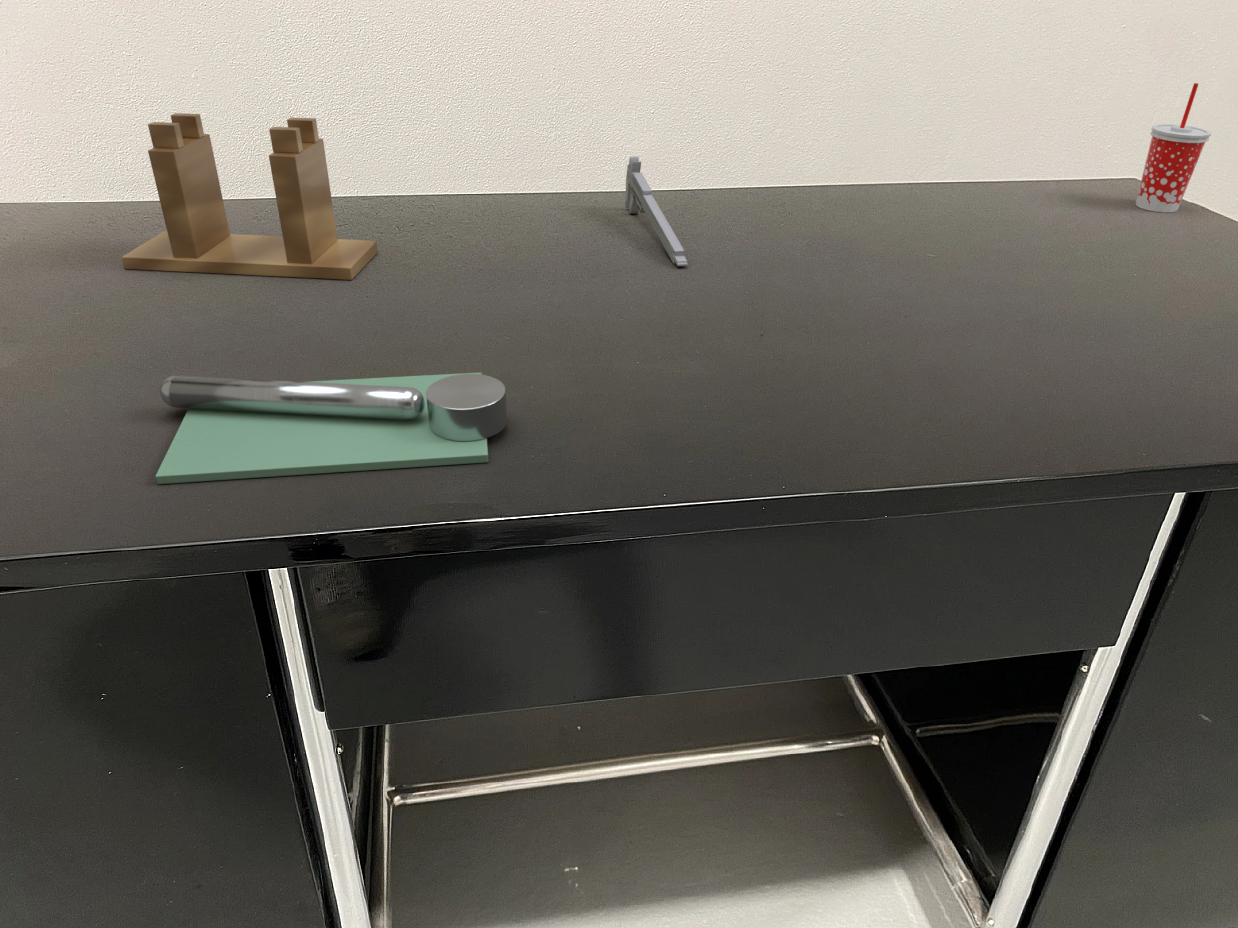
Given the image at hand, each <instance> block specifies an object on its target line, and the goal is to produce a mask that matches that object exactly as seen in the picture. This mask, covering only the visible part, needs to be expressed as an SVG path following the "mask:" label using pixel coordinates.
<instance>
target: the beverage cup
mask: <svg viewBox="0 0 1238 928" xmlns="http://www.w3.org/2000/svg"><path fill="white" fill-rule="evenodd" d="M1198 88H1199V83H1198V82H1194V83H1193V86H1192V89H1191V92H1190V95H1189V98H1188V101H1187V104H1186V107H1185V110H1184V113H1183V115H1182V120H1181V121H1180V124H1171V123H1170V124H1167V123H1166V124H1165V123H1162V124H1161V123H1160V124H1155V125H1152V126H1151V132H1150V133H1149V134H1150V135H1151V138H1150V142H1149V147H1148V151H1147V156H1146V160H1145V163H1144V167H1143V172H1142V176H1141V179H1140V184H1139V188H1138V193H1137V196H1136V200H1135V206H1136V207H1138V208H1139V209H1142V210H1146V211H1150V212H1156V213H1176V212H1177V211H1178V210H1179V208H1180V206H1181V203H1182V200H1183V198H1184V196H1185V193H1186V190H1187V189H1188V186H1189V183H1190V181H1191V179H1192V176H1193V174H1194V171H1195V168H1196V166H1197V164H1198V162H1199V159H1200V156H1201V155H1202V152H1203V149H1204V147H1205V144H1206V143H1207V142H1209V139H1210V137H1211V135H1212V133H1211V131H1209V130H1207V129H1205V128H1201V127H1197V126H1190V125H1186V124H1187V121H1188V118H1189V115H1190V111H1191V109H1192V105H1193V103H1194V99H1195V97H1196V93H1197V91H1198Z"/></svg>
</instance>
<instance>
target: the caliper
mask: <svg viewBox="0 0 1238 928" xmlns="http://www.w3.org/2000/svg"><path fill="white" fill-rule="evenodd" d="M641 168H642V161H641V160H640V159H639V156H629V161H628V164H627V167H626V176H625V197H624V198H625V199H624V200H625V202H624V203H625V208H626V209H628V210H629V211H628V214H629V215H638V214H639V213H640V214H645V215H646V217H647V220H648V221H649V223H650V224H651V227H652V228H653V230H654V232H655V234H656V235H657V237H658V239H659V241H660V243H661V244H662V247H663V248H664V250H665V252H666V254H667V255H668V257H669V260H670V261H671V263H672V264H673V265H676V266H677V267H683V266H686V267H687V266H688V260H687V258H686V256H685V249H684V247H683V246H682V244H681V242H680V241H679V239H678V237H677V235H676V233H675V231H674V230H673V228H672V227H671V225H670V223H669V222H668V220H667V218H666V217H665V215H664V213H663V211H662V209H661V208H660V207H659V204H658V203H657V201H656V199H655V198H654V196H653V189H652V187H650V185H649V183H648V181H647V179H646V177H645V176H644V174H643V172H641V170H642V169H641Z"/></svg>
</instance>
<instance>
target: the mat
mask: <svg viewBox="0 0 1238 928" xmlns="http://www.w3.org/2000/svg"><path fill="white" fill-rule="evenodd" d="M459 374H460V373H446V374H445V373H443V374H424V375H407V376H406V375H405V376H387V377H385V376H384V377H370V378H351V379H329V380H311V381H308V382H317V383H337V384H356V385H376V386H396V387H411V388H415V389H417V390H418V391H419V392H421V394H422V395H423V397H424V399H425V409H424V411H423V413H422V414H421V415H420V416H419V417H418V418H416V419H413V420H397V419H378V418H360V417H341V416H322V415H303V414H285V413H266V412H247V411H228V410H210V409H191V408H187V410H186V413H185V415H184V417H183V419H182V421H181V423H180V425H179V427H178V429H177V431H176V433H175V436H174V437H173V439H172V441H171V443H170V445H169V448H168V450H167V452H166V453H165V456H164V457H163V460H162V462H161V464H160V466H159V468H158V470H157V471H156V473H155V480H156V484H157V485H165V484H166V485H168V484H181V483H182V484H183V483H197V482H198V483H199V482H214V481H226V480H227V481H228V480H242V479H259V478H271V477H272V478H273V477H274V478H275V477H287V476H303V475H318V474H334V473H348V472H361V471H362V472H364V471H365V472H366V471H378V470H392V469H407V468H408V469H409V468H422V467H437V466H439V467H440V466H451V465H452V466H453V465H454V466H455V465H470V464H483V463H484V464H485V463H489V449H488V438H485V439H481V440H476V441H453V440H448V439H444V438H441V437H439V436H437V435H436V434H435V433H433V432H432V430H431V429H430V426H429V417H428V408H427V399H426V392H427V389H428V388H429V387H430V386H431V385H432V384H433V383H434V382H436V381H438V380H440V379H443V378H445V377H449V376H453V375H459ZM461 374H481V375H483V373H482V372H465V373H461Z"/></svg>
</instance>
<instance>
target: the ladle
mask: <svg viewBox="0 0 1238 928" xmlns="http://www.w3.org/2000/svg"><path fill="white" fill-rule="evenodd" d="M458 374H459V375H453V376H449V377H445V378H443V379H440V380H438V381H436V382H434V383H433V384H432V385H431V386H430V387H429V388H428V389H427V392H426V399H427V408H428V417H429V426H430V429H431V430H432V432H433V433H435V434H436V435H437V436H439V437H441V438H444V439H448V440H453V441H476V440H481V439H485V438H487V439H488V438H491V437H493V436H496V435H497V434H499V433H501V432H502V431H503V430H504V429H505V427H506V426H507V424H508V406H507V405H508V404H507V391H506V390H507V389H506V386H505V384H504V383H503V382H502V380H500V379H498V378H495V377H493V376H491V375H486V374H482V375H481V374H462V373H458ZM159 396H160V398H161V400H162V401H163V403H165V404H166V405H167V406H169V407H172V408H176V409H177V408H178V409H189V408H191V409H210V410H228V411H247V412H266V413H285V414H303V415H322V416H341V417H360V418H378V419H397V420H413V419H416V418H418V417H419V416H420V415H421V414H422V413H423V411H424V409H425V399H424V397H423V395H422V394H421V392H419V391H418V390H417V389H415V388H411V387H396V386H376V385H356V384H337V383H317V382H309V381H296V380H275V379H259V378H258V379H256V378H239V377H238V378H236V377H219V376H197V375H196V376H195V375H180V374H179V375H177V374H176V375H171V376H169V377H167V378H165V379H164V380H163V381H162V383H161V384H160V387H159Z"/></svg>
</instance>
